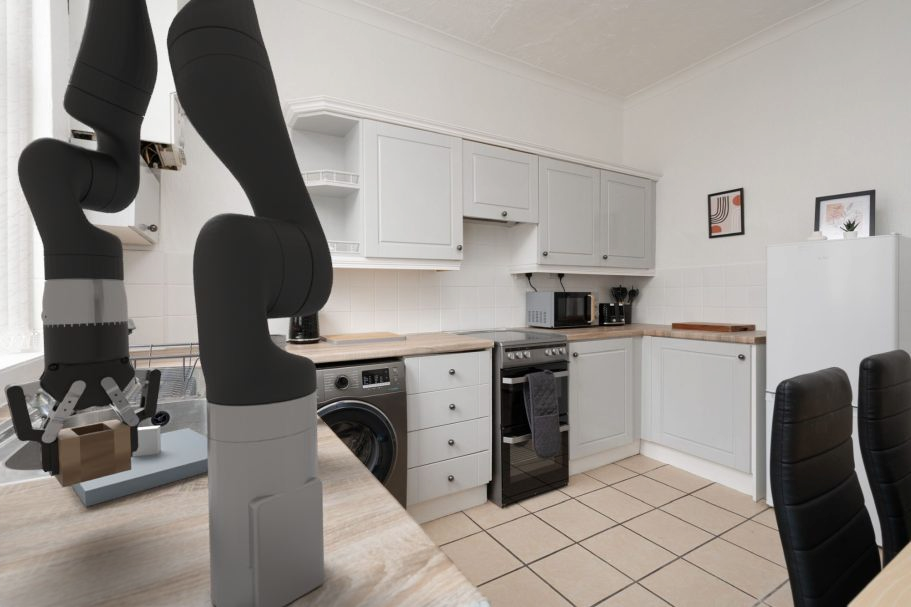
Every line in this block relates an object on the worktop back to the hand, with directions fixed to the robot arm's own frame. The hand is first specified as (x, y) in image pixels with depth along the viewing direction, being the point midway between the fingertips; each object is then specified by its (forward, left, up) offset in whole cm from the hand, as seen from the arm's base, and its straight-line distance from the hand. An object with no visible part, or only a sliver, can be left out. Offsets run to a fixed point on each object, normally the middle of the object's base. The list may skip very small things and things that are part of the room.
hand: (92, 464), depth 51 cm
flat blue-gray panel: (+16, -9, -7) cm, 20 cm away
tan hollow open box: (0, 0, -1) cm, 1 cm away
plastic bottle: (+4, -24, -7) cm, 26 cm away
